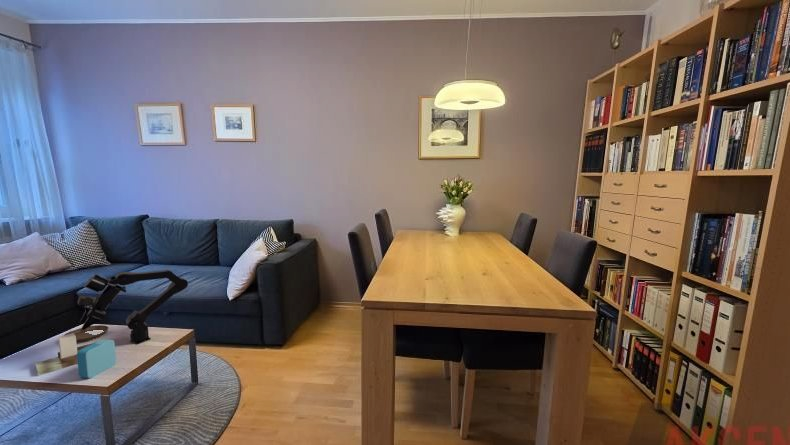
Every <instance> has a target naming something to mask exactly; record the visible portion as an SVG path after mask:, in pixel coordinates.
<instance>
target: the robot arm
mask: <svg viewBox="0 0 790 445" xmlns="http://www.w3.org/2000/svg"><path fill="white" fill-rule="evenodd" d="M161 279H168V280H169V281H170V282H171V283H170V284H169V285H168V286H167V288H166V290H164V291H163V292H162V293H160V294H158V296H157V297H156V298H154V299H153V300H152V301H150V302H149V304H147V305H145V306H144V307H143V308H142V309H140V310H136V309H135V310H133V312H131V314H128V315H127V317H126V319H125V324H126V326H127V328H128V329H130V330H131V331H130V334H129V338H130V341H129V343H132V344H135V345H138V344H141V343H144V342H146V341H149V340H151V337H149V336H150V335H149V325H148V324H147V323H146V321H147V319H148V318H149V316H151V314H152V313H154V312H155V311H156V310H157V309H159V307H161V306H162V305H163V304H164V303H166V302H168V300H169V299H171V298H172V297H173V296H174V295H176V294H178V293H180V292H182V291H184V290H185V289H186V288H188V286H189V281H188V280H187V279H186V278H184V277H181V276H178V275H176V274H175V273H174V272H173V271H171V269H165V270H155V271H145V272H133V271H119V272H118V273H116V274H115V275H113V276H110V277H107V278H105V277H103V276H100V275H99V274H98V273H95V274H94V275H93V276H91V277H90V278H89V279H88V280H87V281H86V282H85V283H84V285H83V287H84V288H86V289H89V290H91V291H94V292H96V293H99V292H101V293H100V294H97V295H96V296H90V295H89V296H88V295H80V296H78V300H77V305H78V306H83V305H84V310H85V312H84V313H83V315H82V317H81V318H80V321H79V324H80V325H82V324H83V325H82V326H81V327H80V328H81V329H82V330H84V329H86V328H88V327H90V326H94V325H95V324H97V323H98V322H100V321H103V320H105V318H106V317H107V313H106V311H107V308H108V306H109V305H110V304H113V301H114V299H116V297H117V296H118V295H119V294H120V293H121V292H123V293H127V289H126V287H127V285H130V284H135V283H137V282H140V281H142V282H143V281H151V280H161Z"/></svg>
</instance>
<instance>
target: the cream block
mask: <svg viewBox="0 0 790 445" xmlns="http://www.w3.org/2000/svg"><path fill="white" fill-rule="evenodd" d="M63 335H64V336H63ZM63 335H60V336H57V337H58V338H57V339H58V347H59V348H58V349H59V352H60V358H61V359H62V358H66V357H69V356H72V355H76V354H77V347H78V343H76V336H75V334H74V333H72V334H68V335H65V334H63Z"/></svg>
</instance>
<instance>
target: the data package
mask: <svg viewBox="0 0 790 445" xmlns="http://www.w3.org/2000/svg"><path fill="white" fill-rule="evenodd" d="M95 342H96V343H94V342H93V343H94V344H92V345H90V346H87V347H85V348H83V349H81V350H79V351H78V353H77V363H78V364H77V371H78V377H80V378H85V379H92V378H94V377H95V376H97V375H100V374H101V373H103V372H105V371H106V370H107V371H108V370H109V369H110V368H112V367H113V366H115V365H116V363H117V355H116V346H115V340H113V339H106V338H105V339H104V338H103V339H101V340H99V341H95Z"/></svg>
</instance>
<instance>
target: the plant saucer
mask: <svg viewBox="0 0 790 445" xmlns="http://www.w3.org/2000/svg"><path fill="white" fill-rule="evenodd" d="M81 328H82V327H80V328H77V329H73V330H70V331H68V332H66V333H65V334H63V335H62V336H64V335H68V334H72V333H74V334H75V336H76V343H77V344H80V343H86V342H90V340H91V341H94V340H96V338H97V339H99V338H101V337H102V336H104V335H105V334H106V333H107V331H108V329H109V326H107V325H101V324H99V325H98V324H97V325H91V326H90V327H88V328H86V329H84V330H82V329H81ZM93 330H103V331H104V332H102V333H100V334H97V335H92V334H89V333H85V332H87V331H93ZM93 339H94V340H93Z"/></svg>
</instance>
